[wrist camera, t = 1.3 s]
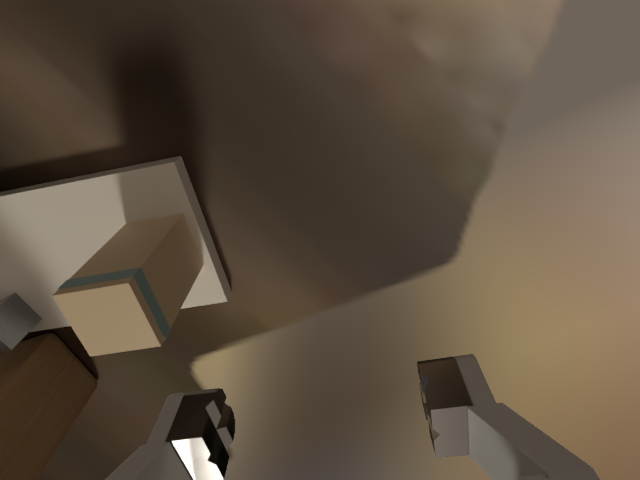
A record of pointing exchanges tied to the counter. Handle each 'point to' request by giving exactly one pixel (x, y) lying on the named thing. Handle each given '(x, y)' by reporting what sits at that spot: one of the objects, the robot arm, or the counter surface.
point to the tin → (15, 321)
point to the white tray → (95, 230)
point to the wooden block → (38, 403)
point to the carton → (132, 286)
